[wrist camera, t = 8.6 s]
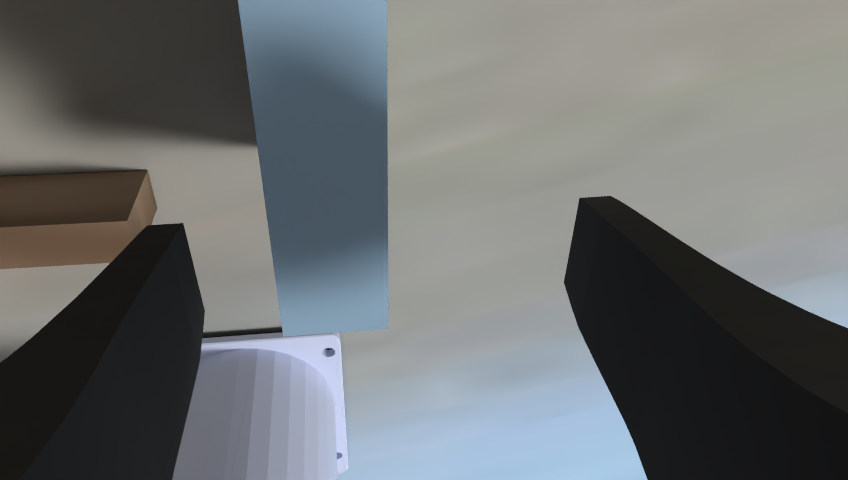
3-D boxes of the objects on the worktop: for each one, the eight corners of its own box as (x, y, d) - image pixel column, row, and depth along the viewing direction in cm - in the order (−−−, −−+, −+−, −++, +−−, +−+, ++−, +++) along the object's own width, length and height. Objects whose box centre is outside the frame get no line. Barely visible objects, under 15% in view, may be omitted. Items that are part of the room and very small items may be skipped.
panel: (363, 146, 22) (387, 328, 15) (292, 149, 22) (283, 336, 15) (356, -117, 18) (387, -34, 10) (266, -119, 17) (232, -33, 10)
